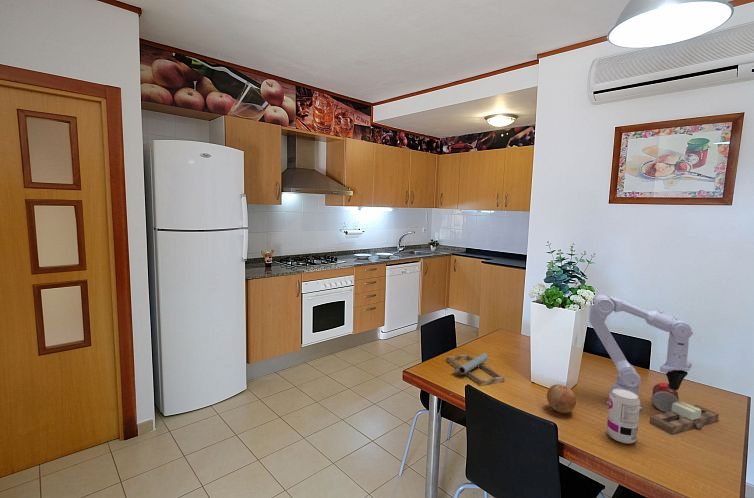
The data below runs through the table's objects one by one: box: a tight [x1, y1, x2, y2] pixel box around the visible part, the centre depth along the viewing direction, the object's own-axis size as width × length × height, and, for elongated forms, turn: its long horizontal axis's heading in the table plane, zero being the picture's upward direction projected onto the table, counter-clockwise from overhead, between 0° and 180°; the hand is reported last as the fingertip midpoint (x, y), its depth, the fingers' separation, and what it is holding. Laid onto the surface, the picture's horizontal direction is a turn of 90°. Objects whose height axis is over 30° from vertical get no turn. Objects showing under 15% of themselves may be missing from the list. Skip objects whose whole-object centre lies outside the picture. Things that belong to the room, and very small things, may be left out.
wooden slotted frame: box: [649, 404, 720, 435], centre depth 131 cm, size 26×10×2 cm, turn 111°
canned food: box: [651, 382, 680, 413], centre depth 142 cm, size 8×8×11 cm
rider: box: [671, 400, 701, 420], centre depth 131 cm, size 5×6×6 cm
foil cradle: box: [445, 354, 506, 387], centre depth 170 cm, size 12×28×2 cm, turn 21°
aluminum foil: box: [451, 352, 489, 375], centre depth 171 cm, size 23×7×3 cm, turn 138°
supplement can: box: [606, 389, 641, 445], centre depth 120 cm, size 8×8×15 cm
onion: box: [546, 383, 577, 414], centre depth 136 cm, size 10×10×10 cm
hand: (674, 388), depth 135 cm, fingers closed
